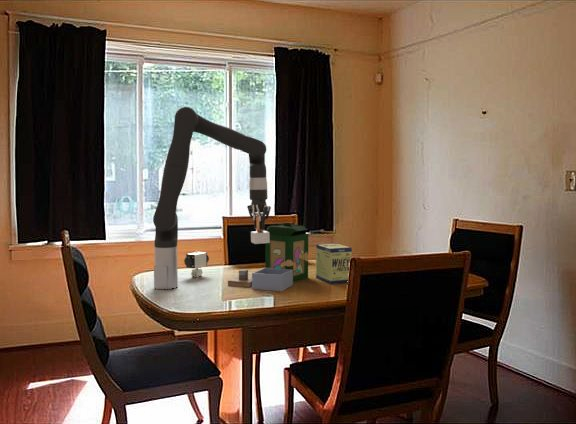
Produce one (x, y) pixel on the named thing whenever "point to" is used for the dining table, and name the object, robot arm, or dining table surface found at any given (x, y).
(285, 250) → the container
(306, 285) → the dining table surface
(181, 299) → the dining table surface
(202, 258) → the pneumatic valve
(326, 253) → the protein box
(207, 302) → the dining table surface
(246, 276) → the stud block
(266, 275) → the bin
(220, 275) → the dining table surface
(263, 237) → the peg block
